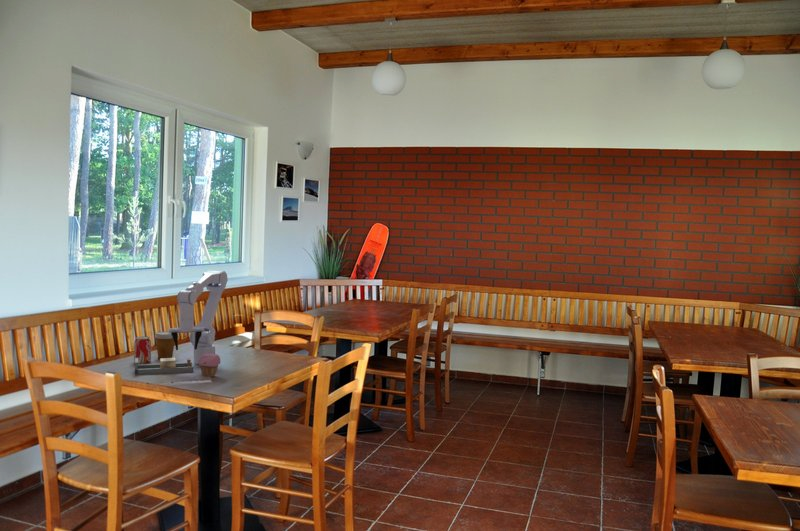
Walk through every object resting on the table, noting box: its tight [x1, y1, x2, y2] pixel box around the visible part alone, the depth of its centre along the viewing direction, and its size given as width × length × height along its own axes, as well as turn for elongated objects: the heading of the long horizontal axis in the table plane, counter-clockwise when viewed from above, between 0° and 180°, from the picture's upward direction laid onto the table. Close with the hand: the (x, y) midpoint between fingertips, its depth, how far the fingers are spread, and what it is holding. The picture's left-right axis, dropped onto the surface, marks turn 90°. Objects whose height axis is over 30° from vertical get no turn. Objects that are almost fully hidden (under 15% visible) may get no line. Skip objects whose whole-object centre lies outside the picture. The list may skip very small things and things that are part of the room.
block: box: [159, 357, 192, 368], centre depth 282 cm, size 12×6×4 cm, turn 112°
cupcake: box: [198, 353, 221, 378], centre depth 276 cm, size 9×9×10 cm
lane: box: [134, 358, 194, 376], centre depth 280 cm, size 23×10×6 cm, turn 112°
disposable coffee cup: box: [154, 330, 175, 360], centre depth 309 cm, size 10×10×12 cm
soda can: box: [133, 336, 152, 365], centre depth 296 cm, size 7×7×12 cm
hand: (186, 349), depth 285 cm, fingers open, 7 cm apart
